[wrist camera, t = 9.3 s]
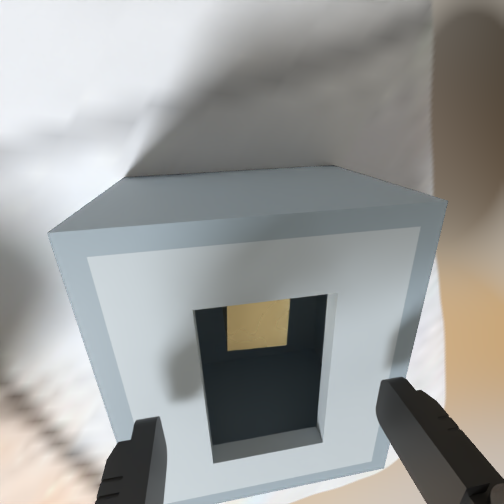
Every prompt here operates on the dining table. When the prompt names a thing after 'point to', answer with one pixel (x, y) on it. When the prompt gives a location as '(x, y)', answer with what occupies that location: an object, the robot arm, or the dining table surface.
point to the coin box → (244, 292)
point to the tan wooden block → (256, 324)
